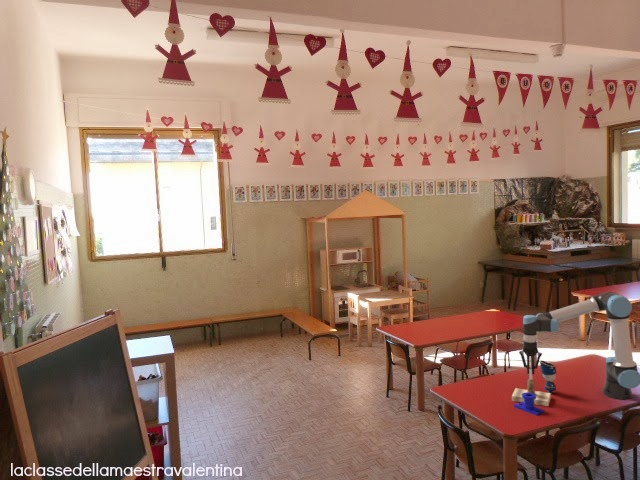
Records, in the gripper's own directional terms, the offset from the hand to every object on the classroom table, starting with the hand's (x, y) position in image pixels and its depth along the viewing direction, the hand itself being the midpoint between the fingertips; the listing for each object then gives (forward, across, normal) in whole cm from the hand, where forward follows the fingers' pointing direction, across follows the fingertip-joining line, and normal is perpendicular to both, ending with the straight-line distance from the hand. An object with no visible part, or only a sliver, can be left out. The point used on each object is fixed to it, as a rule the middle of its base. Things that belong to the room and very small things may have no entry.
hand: (530, 379), depth 289 cm
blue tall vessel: (+13, -8, -16) cm, 22 cm away
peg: (+13, 0, 0) cm, 13 cm away
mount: (+13, -1, +16) cm, 21 cm away
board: (+13, 0, 0) cm, 13 cm away
